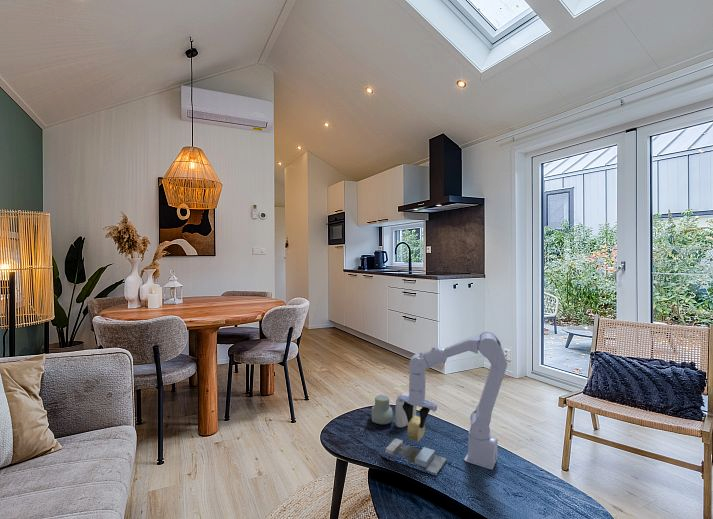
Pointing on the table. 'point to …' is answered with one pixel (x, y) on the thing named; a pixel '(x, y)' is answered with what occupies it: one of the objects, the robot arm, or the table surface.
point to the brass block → (415, 429)
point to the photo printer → (402, 414)
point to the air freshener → (382, 410)
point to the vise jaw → (424, 457)
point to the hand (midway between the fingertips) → (416, 425)
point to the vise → (414, 455)
